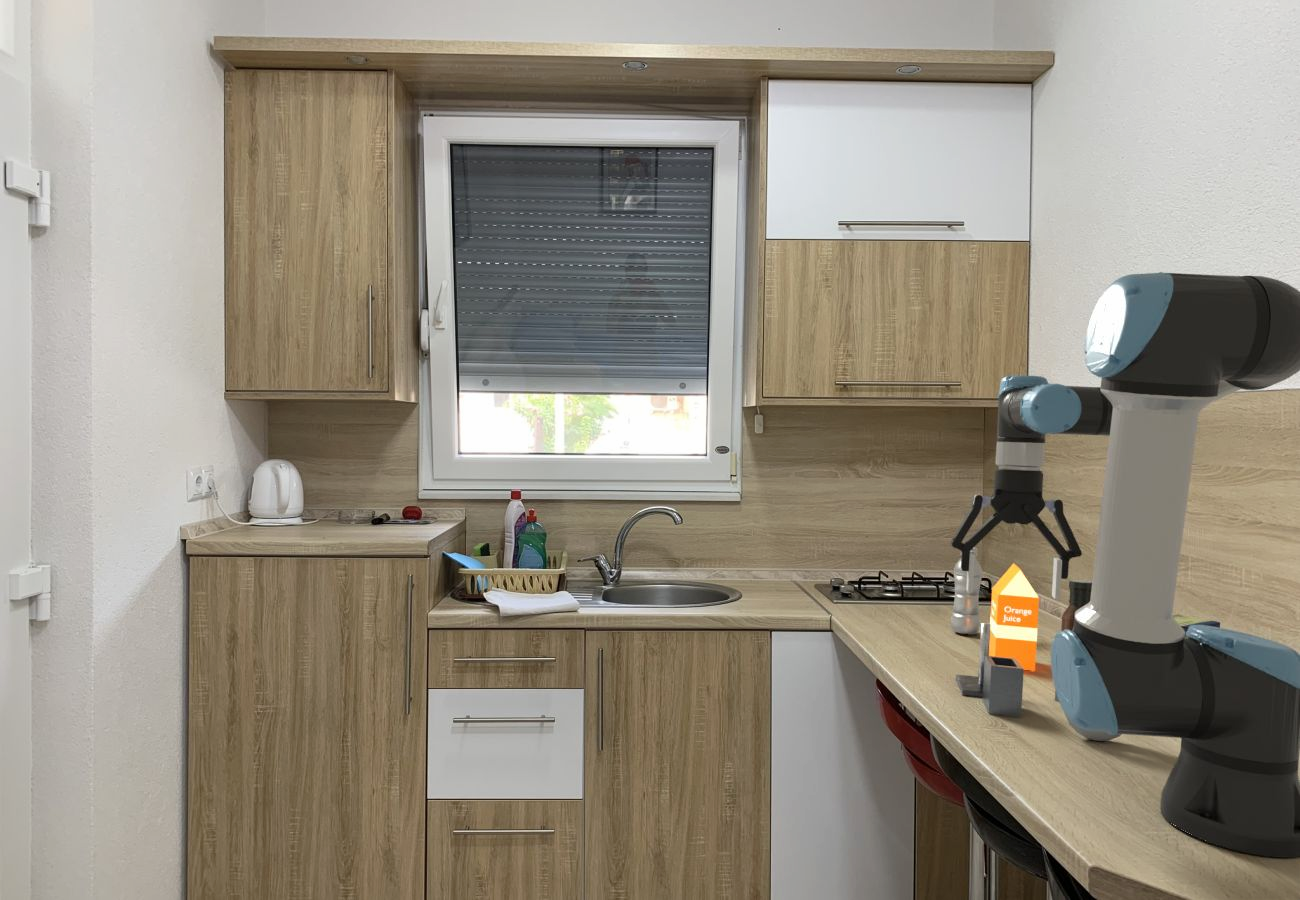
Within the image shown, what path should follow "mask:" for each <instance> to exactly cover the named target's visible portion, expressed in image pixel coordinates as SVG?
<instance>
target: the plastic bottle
mask: <svg viewBox="0 0 1300 900" xmlns="http://www.w3.org/2000/svg"><path fill="white" fill-rule="evenodd" d="M970 552H974V553H975V560H974V578H973V592H968V591H967V589H966V586H967V571H962V569H961V558H959V560H958V561H957V562H956V563H955V565H954V566H953V567H954V568H953V580H954V601H953V609H952V613H951V618H950V628H951V629H952V631H953V632H955V633H958V634H961V635H964V634H968V635H975V634H977V633H978V632H979V631H980V628H981V619H980V615H979V614H980V613H979V612H980V611H979V610H980V609H979V597H980V596H979V595H980V589H981V588H980V587H981V583H982V578H983V568H982V566H981V564H980V563H979V561H978V559H977V557H978V556H979V555H978V548H976V547H974V548H973V549H972V550H971V551H970ZM961 554H962V553H961V552H960V554H959V555H960V556H961Z"/></svg>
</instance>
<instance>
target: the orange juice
mask: <svg viewBox="0 0 1300 900" xmlns="http://www.w3.org/2000/svg"><path fill="white" fill-rule="evenodd" d="M990 602H991V603H990V616H989V617H990V618H989V623H990V624H991V628H990V647H989V656H998V657H1008V658H1016V659H1017V660H1018V662H1019V663H1020V664H1021V666H1022V667H1023V669H1024V670H1031V671H1030V672H1034V671H1035V672H1036V656H1037V642H1038V623H1039V621H1038V620H1039V607H1040V606H1039V603H1040V597H1039V595H1038V594H1037V592H1036V591H1035V589H1034V588H1033V586H1032V585H1031V584H1030V582H1029V580H1028V578H1027V577H1026V576H1025V574H1024V572H1023V571H1022V569H1021V568H1020V567H1019V566H1017V565H1016V564H1015V563H1014V562H1013V563H1012V564H1011V566H1010V567H1009V568H1008V569H1007V571H1006V572H1005V573H1004V574H1003V575H1002V576H1001V577H1000V579H999V580H998V581H997V582H996V584H995V585H994V586H992V588H991V601H990Z"/></svg>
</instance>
